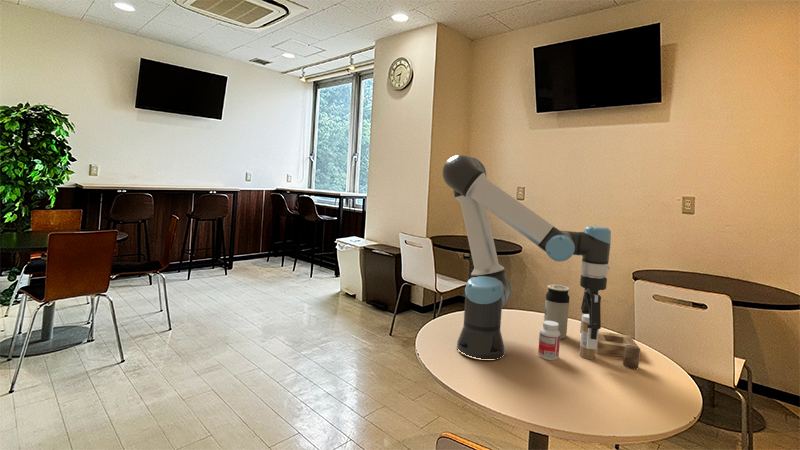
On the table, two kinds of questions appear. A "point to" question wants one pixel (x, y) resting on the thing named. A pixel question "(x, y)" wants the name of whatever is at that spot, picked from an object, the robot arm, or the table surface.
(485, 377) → the table surface
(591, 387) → the table surface
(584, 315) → the sprinkles bottle
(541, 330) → the pill bottle
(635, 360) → the walnut stub
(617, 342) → the oak collar
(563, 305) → the travel mug
